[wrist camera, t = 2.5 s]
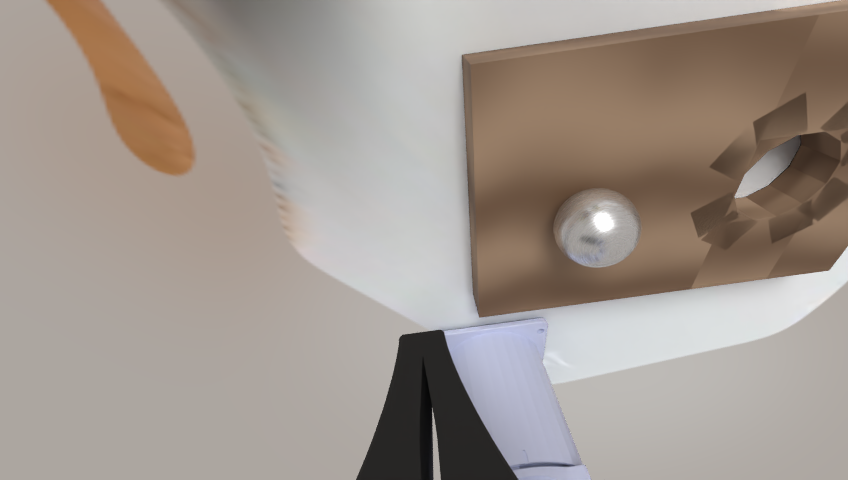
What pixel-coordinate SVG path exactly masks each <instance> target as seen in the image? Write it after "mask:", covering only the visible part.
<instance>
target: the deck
mask: <svg viewBox="0 0 848 480" xmlns="http://www.w3.org/2000/svg"><path fill="white" fill-rule="evenodd" d="M462 66H463V87H464V108H465V130H466V151H467V172H468V193H469V214H470V236H471V257H472V278H473V295H474V299H475V303H476V306H477V310H478V314H479V317H487V316H494V315H502V314H509V313H516V312H524V311H531V310H539V309H546V308H554V307H561V306H568V305H576V304H583V303H591V302H598V301H606V300H613V299H620V298H628V297H635V296H643V295H650V294H658V293H665V292H672V291H680V290H687V289H695V288H702V287H710V286H717V285H724V284H732V283H739V282H747V281H754V280H762V279H769V278H776V277H784V276H791V275H799V274H806V273H814V272H821V271H828V270H830V269H831V267H832V266H833V265H834V263H835V262H836V261H837V259H838V258H839V257H840V256H841V254H842V253H843V252H844V250H845V249H846V248H847V246H848V0H841V1H834V2H827V3H820V4H813V5H806V6H799V7H792V8H785V9H778V10H771V11H764V12H757V13H750V14H743V15H737V16H730V17H723V18H716V19H709V20H702V21H695V22H688V23H681V24H674V25H667V26H660V27H653V28H646V29H639V30H632V31H625V32H618V33H611V34H604V35H597V36H590V37H583V38H576V39H569V40H562V41H555V42H548V43H541V44H534V45H527V46H520V47H513V48H506V49H500V50H493V51H486V52H479V53H472V54H465V55H462ZM797 135H801V146H800V148H799V150H798V152H797V153H796V155H795V157H794V159H793V161H792V163H791V165H790V166H789V167H788V168H787V169H786V170H785V171H784V172H783V173H782V174H781V175H780V176H778V177H777V178H776V179H775V180H774V181H773V182H772V183H771V184H770V185H768V186H766V187H765V188H763V189H761V190H759V191H757V192H755V193H753V194H751V195H749V196H747V197H743V198H736V199H735V198H734V196H735V194H736V192H737V189H738V187H739V185H740V183H741V181H742V179H743V177H744V174H745V173H746V172H747V171H748V170H749V169H750V168H751V167H752V166H753V165H754V164H755V163H756V162H758V161H759V160H760V159H761V158H762V157H763V156H764V155H765V154H766V153H767V152H768V151H769V150H771V149H773V148H775V147H777V146H779V145H781V144H782V143H784V142H786V141H788V140H790V139H792V138H794V137H795V136H797ZM593 188H603V189H609V190H613V191H616V192H618V193H620V194H622V195H624V196H625V197H626V198H627V199H629V200H630V201H631V202H632V203H633V205H634V206H635V207H636V209H637V211H638V213H639V215H640V219H641V225H642V231H641V236H640V240H639V242H638V244H637V246H636V248H635V249H634V250H633V252H632V253H631V254H630V255H629V256H628V257H626V258H625V259H624V260H622V261H621V262H619V263H617V264H614V265H611V266H607V267H600V268H593V267H587V266H583V265H580V264H578V263H575V262H574V261H572V260H570V259H569V258H568V257H567V256H565V255H564V254H563V252H562V251H561V250H560V249H559V247H558V245H557V243H556V240H555V237H554V230H553V227H554V220H555V217H556V214H557V212H558V210H559V208H560V207H561V206H562V204H563V203H564V202H565V201H566V200H567V199H568V198H570V197H571V196H573V195H574V194H576V193H578V192H581V191H584V190H588V189H593Z"/></svg>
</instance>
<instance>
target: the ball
mask: <svg viewBox="0 0 848 480" xmlns="http://www.w3.org/2000/svg"><path fill="white" fill-rule="evenodd" d="M553 230H554V237H555V240H556V243H557V245H558V247H559V249H560V250H561V251H562V252H563V254H564V255H565V256H567V257H568V258H569V259H570V260H572V261H574V262H575V263H578V264H580V265H583V266H587V267H593V268H600V267H607V266H611V265H614V264H617V263H619V262H621V261H622V260H624V259H625V258H626V257H628V256H629V255H630V254H631V253H632V252H633V250H634V249H635V248H636V246H637V244H638V242H639V240H640V236H641V231H642V225H641V219H640V215H639V213H638V211H637V209H636V207H635V206H634V205H633V203H632V202H631V201H630V200H629V199H627V198H626V197H625V196H624V195H622V194H620V193H618V192H616V191H613V190H609V189H603V188H593V189H588V190H584V191H581V192H578V193H576V194H574V195H573V196H571V197H570V198H568V199H567V200H566V201H565V202H564V203H563V204H562V206H561V207H560V208H559V210H558V212H557V214H556V217H555V220H554V227H553Z"/></svg>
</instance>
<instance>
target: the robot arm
mask: <svg viewBox="0 0 848 480" xmlns="http://www.w3.org/2000/svg"><path fill="white" fill-rule="evenodd" d="M547 329H548V323H547V321H546V320H545V319H544V318H536V319H529V320H521V321H514V322H506V323H499V324H492V325H484V326H477V327H469V328H462V329H454V330H447V331H442V330H435V331H428V332H420V333H413V334H405V335H402V336H401V337H400V339H399V347H398V353H397V359H396V363H395V368H394V372H393V376H392V380H391V384H390V387H389V391H388V394H387V398H386V401H385V404H384V408H383V411H382V414H381V417H380V420H379V422H378V425H377V428H376V431H375V434H374V437H373V439H372V442H371V445H370V447H369V450H368V452H367V455H366V458H365V460H364V462H363V465H362V467H361V469H360V472H359V474H358V476H357V479H356V480H433V438H432V408H433V413H434V418H435V425H436V431H437V439H438V451H439V462H440V472H441V480H591V478H590V475H589V473H588V470H587V468H586V465H584V464H582V461H581V458H580V456H579V453H578V451H577V448H576V446H575V443H574V441H573V438H572V436H571V433H570V430H569V428H568V426H567V423H566V420H565V418H564V415H563V413H562V410H561V407H560V405H559V402H558V400H557V397H556V395H555V392H554V390H553V387H552V384H551V382H550V379H549V377H548V374H547V372H546V369H545V367H544V364H543V357H544V350H545V343H546V336H547Z"/></svg>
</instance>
